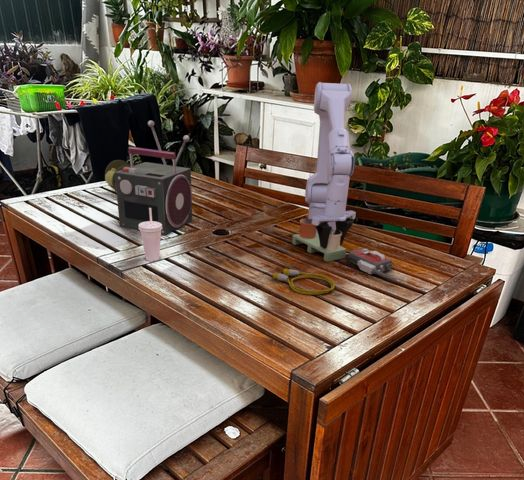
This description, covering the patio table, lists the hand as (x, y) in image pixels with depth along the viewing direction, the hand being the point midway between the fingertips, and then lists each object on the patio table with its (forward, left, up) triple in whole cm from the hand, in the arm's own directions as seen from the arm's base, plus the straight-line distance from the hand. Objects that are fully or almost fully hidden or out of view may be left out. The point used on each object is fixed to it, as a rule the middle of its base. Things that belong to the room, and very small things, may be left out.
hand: (330, 245), depth 150 cm
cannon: (+23, -88, -3) cm, 91 cm away
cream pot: (0, 0, 0) cm, 0 cm away
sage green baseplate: (0, -6, -3) cm, 6 cm away
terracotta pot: (0, -11, 0) cm, 11 cm away
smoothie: (+46, -22, -3) cm, 51 cm away
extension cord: (+18, +12, -3) cm, 22 cm away
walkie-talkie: (-5, +14, -3) cm, 15 cm away
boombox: (+32, -50, -3) cm, 60 cm away
